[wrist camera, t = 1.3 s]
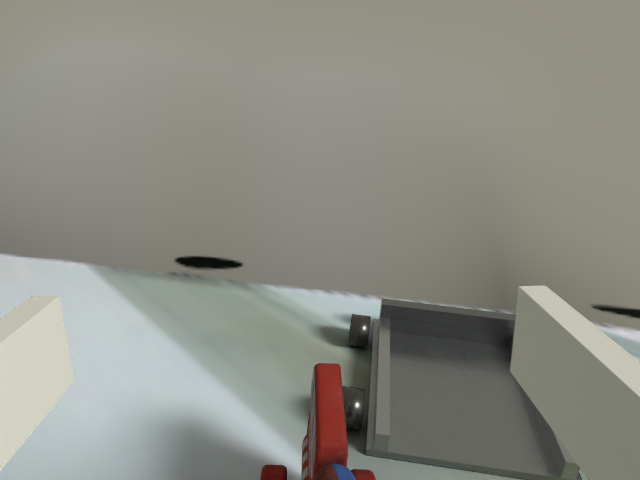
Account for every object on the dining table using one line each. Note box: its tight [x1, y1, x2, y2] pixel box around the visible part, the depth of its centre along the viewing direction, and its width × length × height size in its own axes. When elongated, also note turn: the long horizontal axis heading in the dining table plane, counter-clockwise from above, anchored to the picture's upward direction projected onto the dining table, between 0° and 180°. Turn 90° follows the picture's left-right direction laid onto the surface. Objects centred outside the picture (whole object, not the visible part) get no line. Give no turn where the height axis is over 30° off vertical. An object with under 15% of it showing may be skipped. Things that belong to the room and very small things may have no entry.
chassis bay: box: [342, 299, 582, 480], centre depth 43 cm, size 20×18×4 cm
